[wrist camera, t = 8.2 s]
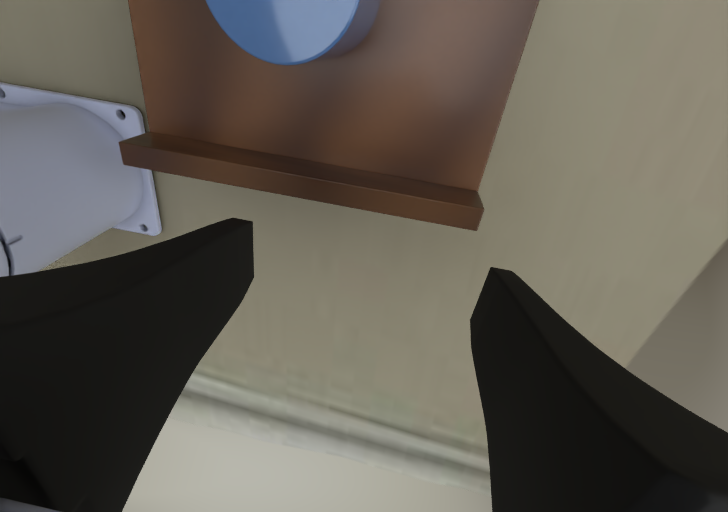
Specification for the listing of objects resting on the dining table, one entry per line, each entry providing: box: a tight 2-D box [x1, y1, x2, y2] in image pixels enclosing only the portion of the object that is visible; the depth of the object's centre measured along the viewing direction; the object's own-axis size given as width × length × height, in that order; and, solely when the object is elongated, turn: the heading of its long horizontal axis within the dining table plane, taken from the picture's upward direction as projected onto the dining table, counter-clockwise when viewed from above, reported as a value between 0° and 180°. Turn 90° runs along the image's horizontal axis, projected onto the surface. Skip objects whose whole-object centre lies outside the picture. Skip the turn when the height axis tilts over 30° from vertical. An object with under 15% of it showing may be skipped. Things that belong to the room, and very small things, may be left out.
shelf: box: [119, 0, 539, 231], centre depth 15 cm, size 15×10×6 cm, turn 82°
